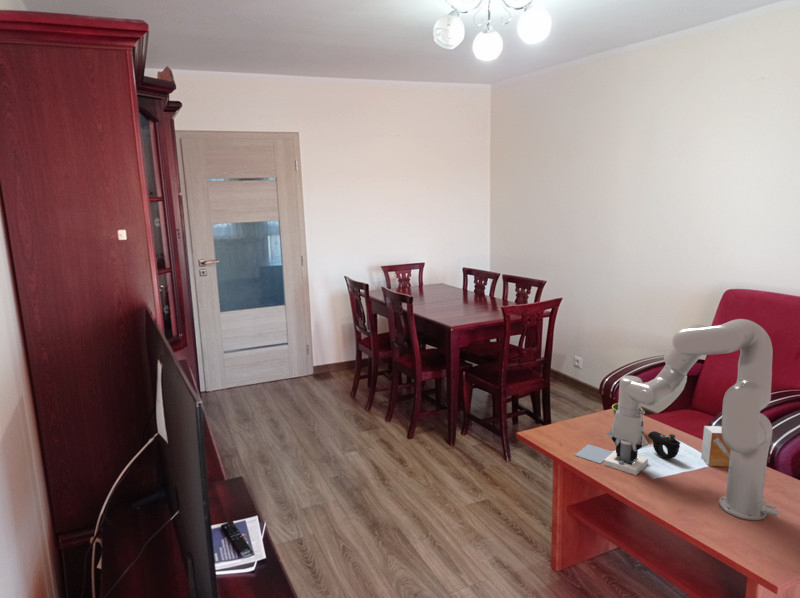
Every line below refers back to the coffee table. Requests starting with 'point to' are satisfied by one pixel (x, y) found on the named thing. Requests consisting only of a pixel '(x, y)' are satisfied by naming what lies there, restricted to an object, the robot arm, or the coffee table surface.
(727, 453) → the small box
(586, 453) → the mat
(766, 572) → the coffee table surface
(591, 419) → the coffee table surface
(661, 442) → the controller
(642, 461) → the frame
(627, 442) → the cartridge
